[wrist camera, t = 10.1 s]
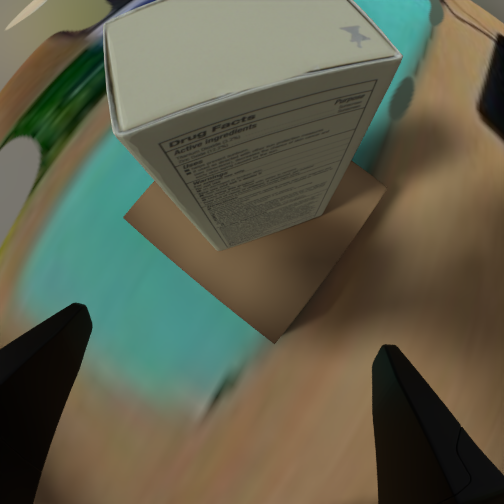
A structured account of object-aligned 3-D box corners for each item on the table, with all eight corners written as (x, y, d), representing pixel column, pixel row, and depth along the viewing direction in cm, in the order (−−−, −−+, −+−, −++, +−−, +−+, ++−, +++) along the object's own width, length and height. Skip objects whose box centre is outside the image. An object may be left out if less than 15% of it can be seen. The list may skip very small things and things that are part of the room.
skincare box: (294, 150, 18) (321, -37, 6) (324, 219, 17) (415, 57, 5) (190, 185, 18) (98, 17, 6) (213, 258, 17) (109, 138, 5)
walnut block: (272, 339, 19) (274, 344, 16) (143, 233, 21) (122, 217, 18) (369, 207, 21) (387, 187, 18) (244, 121, 23) (242, 91, 19)
